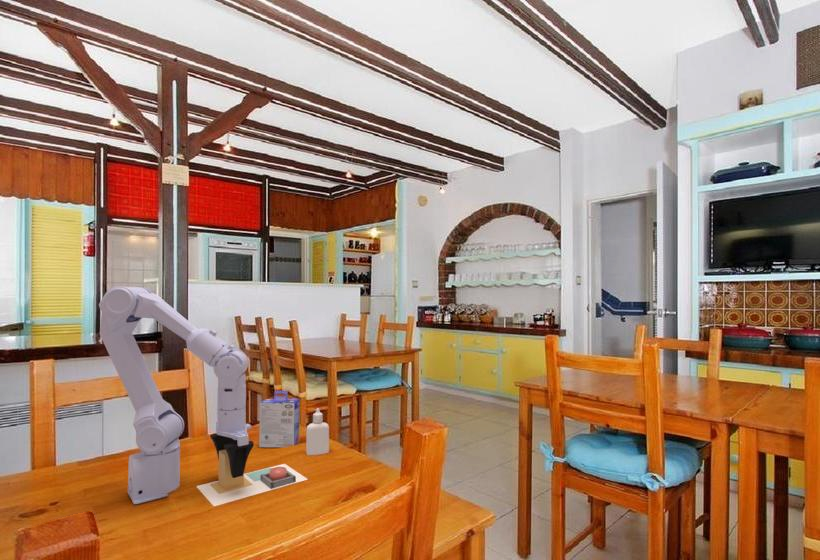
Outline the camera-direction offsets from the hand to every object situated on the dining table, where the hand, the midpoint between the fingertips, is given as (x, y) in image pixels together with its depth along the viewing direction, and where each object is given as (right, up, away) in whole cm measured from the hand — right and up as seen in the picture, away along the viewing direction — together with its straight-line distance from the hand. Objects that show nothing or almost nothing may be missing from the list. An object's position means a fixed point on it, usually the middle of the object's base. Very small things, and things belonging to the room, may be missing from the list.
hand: (231, 471), depth 100 cm
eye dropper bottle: (+15, -4, +20) cm, 25 cm away
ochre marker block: (0, -3, 0) cm, 3 cm away
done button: (+9, -3, +2) cm, 10 cm away
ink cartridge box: (+3, -5, +28) cm, 29 cm away
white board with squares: (+4, -4, +1) cm, 6 cm away
